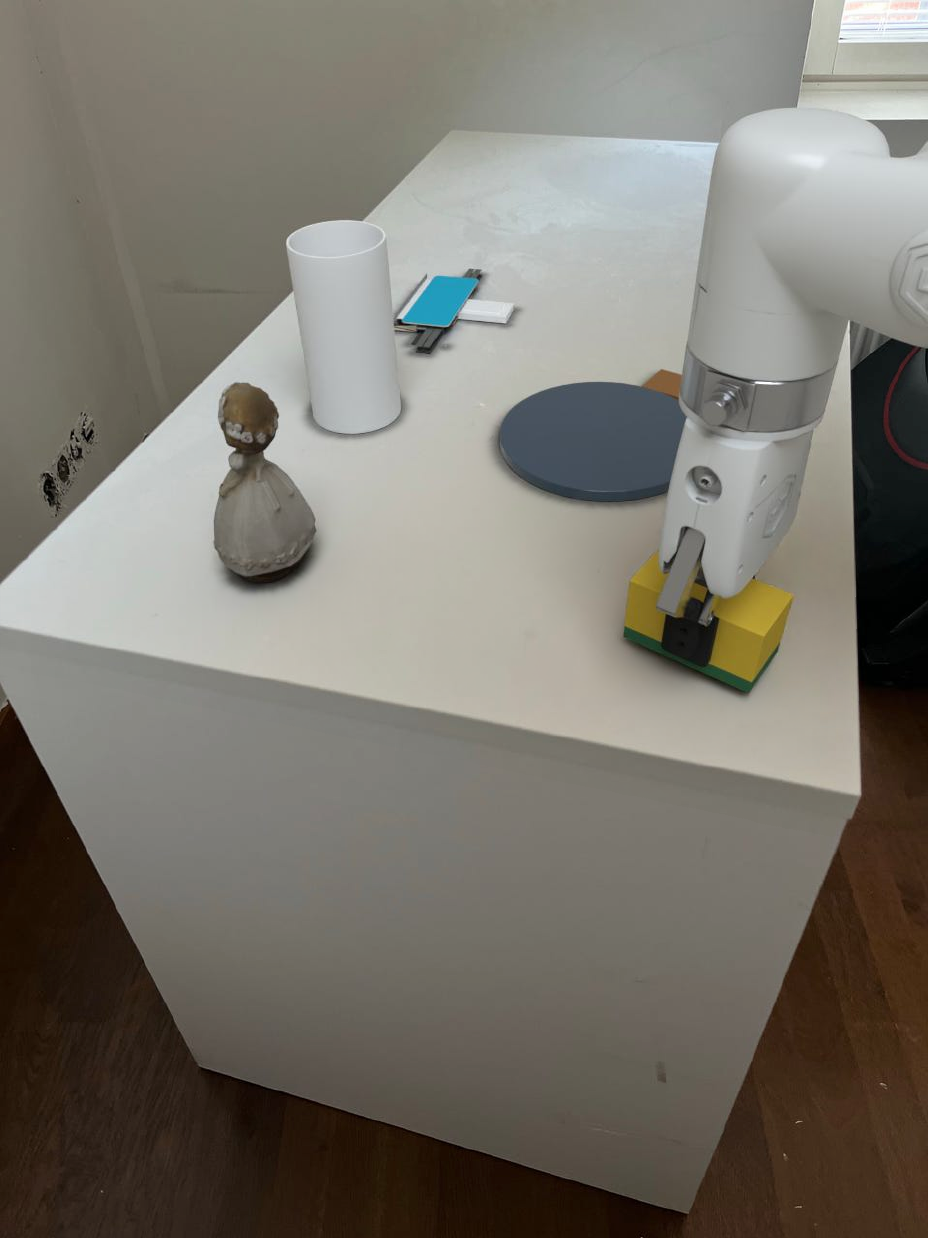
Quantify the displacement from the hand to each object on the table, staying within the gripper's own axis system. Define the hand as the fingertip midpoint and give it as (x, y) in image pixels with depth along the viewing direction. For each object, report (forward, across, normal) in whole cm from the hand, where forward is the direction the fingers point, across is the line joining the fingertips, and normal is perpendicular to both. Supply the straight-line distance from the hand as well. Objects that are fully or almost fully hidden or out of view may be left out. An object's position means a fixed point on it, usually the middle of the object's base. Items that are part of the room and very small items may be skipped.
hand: (703, 630), depth 61 cm
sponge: (+1, 0, 0) cm, 1 cm away
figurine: (+3, -9, +31) cm, 32 cm away
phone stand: (+3, +34, +45) cm, 56 cm away
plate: (+2, +19, +19) cm, 27 cm away
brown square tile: (+2, +31, +18) cm, 36 cm away
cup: (+3, +11, +40) cm, 42 cm away
